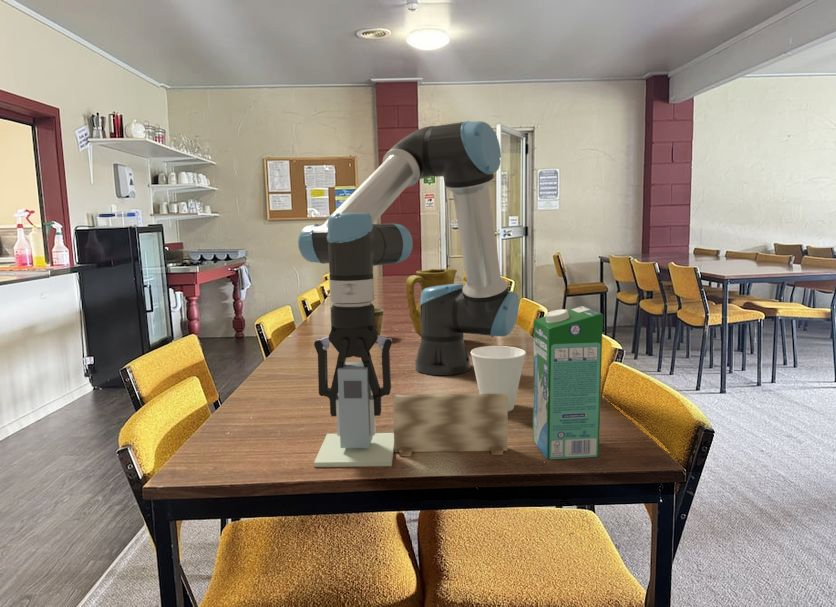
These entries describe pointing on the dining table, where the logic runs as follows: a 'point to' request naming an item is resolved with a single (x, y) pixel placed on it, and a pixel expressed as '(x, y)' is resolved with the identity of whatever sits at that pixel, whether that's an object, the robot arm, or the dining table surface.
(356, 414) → the block
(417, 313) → the pitcher
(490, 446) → the birch screen
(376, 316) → the ceramic cup
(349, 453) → the mat
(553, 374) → the milk carton
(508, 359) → the cup
